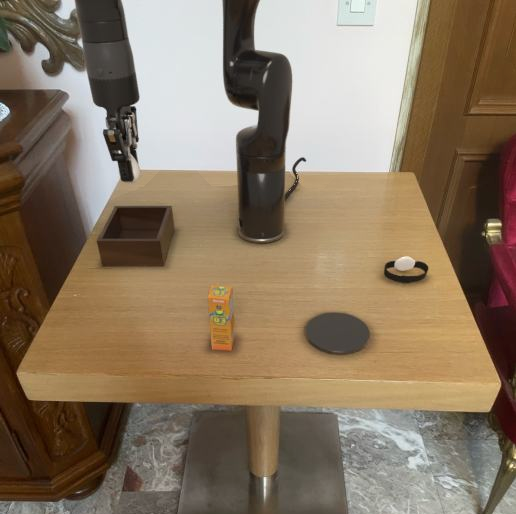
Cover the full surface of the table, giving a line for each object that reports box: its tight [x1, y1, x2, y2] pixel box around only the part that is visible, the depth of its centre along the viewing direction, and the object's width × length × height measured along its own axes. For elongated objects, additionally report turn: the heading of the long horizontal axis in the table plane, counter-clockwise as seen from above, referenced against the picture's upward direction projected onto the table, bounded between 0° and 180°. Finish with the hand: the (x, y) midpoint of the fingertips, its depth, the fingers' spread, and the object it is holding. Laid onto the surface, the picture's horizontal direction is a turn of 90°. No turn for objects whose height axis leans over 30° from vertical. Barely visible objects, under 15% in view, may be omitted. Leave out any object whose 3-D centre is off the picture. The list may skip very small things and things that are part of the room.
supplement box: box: [207, 284, 236, 352], centre depth 77 cm, size 3×3×10 cm
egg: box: [118, 154, 142, 184], centre depth 93 cm, size 4×4×6 cm
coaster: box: [304, 311, 371, 356], centre depth 82 cm, size 10×10×1 cm
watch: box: [383, 255, 429, 284], centre depth 93 cm, size 8×5×4 cm, turn 88°
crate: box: [96, 205, 176, 267], centre depth 102 cm, size 15×12×5 cm
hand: (130, 175), depth 94 cm, fingers closed on egg, 3 cm apart
